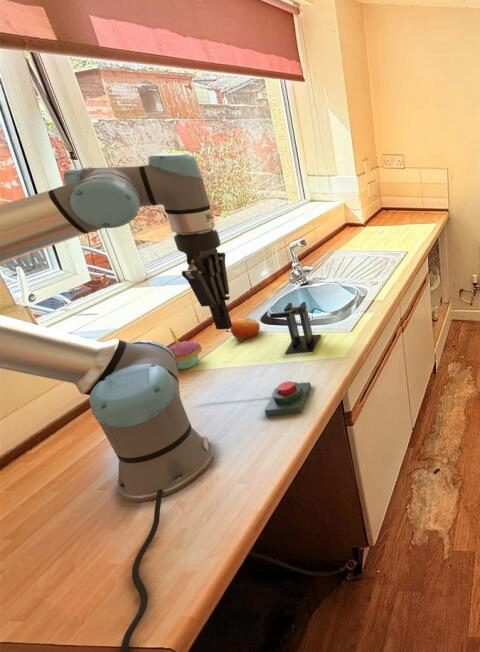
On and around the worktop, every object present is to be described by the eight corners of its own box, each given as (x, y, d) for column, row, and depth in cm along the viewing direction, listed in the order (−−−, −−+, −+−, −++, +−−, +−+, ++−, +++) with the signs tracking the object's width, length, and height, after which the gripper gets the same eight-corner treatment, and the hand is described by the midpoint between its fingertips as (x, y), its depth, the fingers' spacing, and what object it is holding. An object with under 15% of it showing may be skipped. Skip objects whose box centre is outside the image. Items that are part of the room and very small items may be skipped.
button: (292, 394, 102) (291, 389, 101) (277, 396, 101) (275, 390, 100) (296, 385, 105) (295, 380, 104) (282, 387, 104) (280, 381, 104)
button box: (301, 413, 101) (297, 401, 99) (266, 417, 99) (262, 404, 98) (311, 388, 110) (308, 376, 108) (280, 391, 108) (276, 379, 107)
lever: (289, 319, 111) (289, 310, 111) (270, 320, 111) (269, 311, 110) (306, 313, 125) (305, 305, 125) (289, 314, 125) (288, 307, 124)
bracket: (313, 353, 125) (304, 312, 119) (285, 356, 124) (275, 313, 118) (321, 337, 134) (312, 297, 128) (295, 339, 133) (286, 299, 127)
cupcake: (163, 369, 117) (148, 333, 112) (192, 354, 124) (180, 320, 119) (183, 375, 114) (169, 339, 109) (212, 359, 121) (200, 325, 116)
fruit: (221, 338, 130) (228, 314, 130) (245, 339, 137) (252, 317, 137) (235, 344, 126) (243, 320, 127) (259, 345, 134) (267, 322, 134)
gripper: (197, 238, 79) (228, 341, 89) (229, 222, 91) (253, 314, 100) (154, 239, 78) (191, 343, 87) (192, 222, 90) (221, 315, 99)
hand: (224, 327), depth 94 cm, fingers closed
